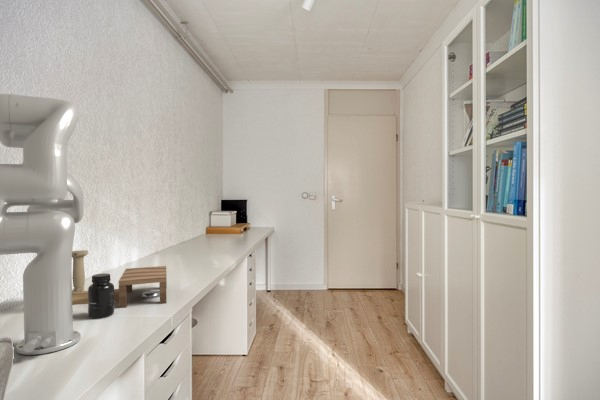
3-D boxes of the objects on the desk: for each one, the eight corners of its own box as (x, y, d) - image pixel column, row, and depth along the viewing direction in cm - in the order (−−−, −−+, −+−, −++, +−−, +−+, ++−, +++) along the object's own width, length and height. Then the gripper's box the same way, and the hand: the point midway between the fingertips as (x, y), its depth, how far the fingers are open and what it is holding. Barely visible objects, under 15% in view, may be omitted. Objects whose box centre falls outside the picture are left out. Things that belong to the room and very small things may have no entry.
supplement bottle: (85, 320, 105) (84, 278, 104) (91, 313, 111) (91, 273, 111) (111, 317, 106) (111, 276, 106) (116, 310, 113) (116, 271, 113)
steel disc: (160, 298, 127) (160, 293, 127) (141, 300, 125) (141, 295, 125) (160, 294, 133) (160, 289, 133) (142, 296, 131) (142, 291, 131)
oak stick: (124, 302, 123) (124, 290, 123) (42, 307, 119) (42, 295, 119) (126, 300, 126) (126, 288, 126) (46, 305, 121) (46, 293, 121)
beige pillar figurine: (85, 292, 136) (84, 251, 136) (66, 293, 135) (65, 252, 135) (90, 289, 141) (90, 250, 141) (72, 290, 140) (72, 250, 140)
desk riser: (166, 303, 120) (165, 277, 120) (119, 308, 116) (118, 281, 116) (166, 287, 141) (166, 265, 141) (126, 291, 136) (126, 268, 136)
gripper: (57, 241, 112) (59, 297, 113) (71, 234, 129) (72, 283, 129) (28, 242, 110) (29, 299, 110) (46, 235, 126) (47, 285, 127)
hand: (53, 290), depth 120 cm, fingers open, 9 cm apart
